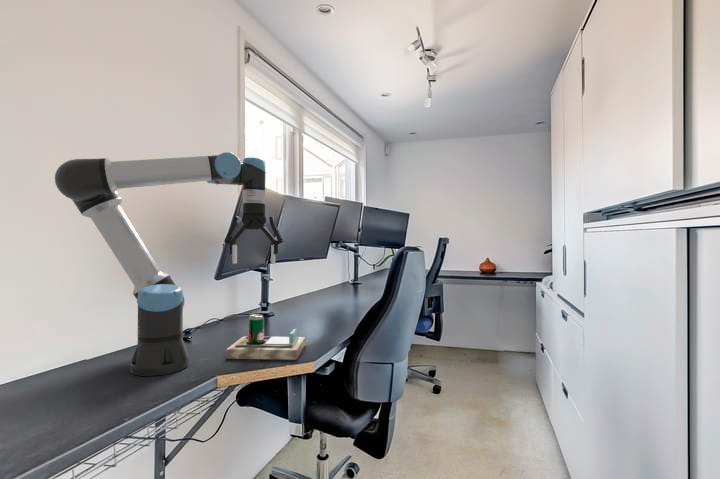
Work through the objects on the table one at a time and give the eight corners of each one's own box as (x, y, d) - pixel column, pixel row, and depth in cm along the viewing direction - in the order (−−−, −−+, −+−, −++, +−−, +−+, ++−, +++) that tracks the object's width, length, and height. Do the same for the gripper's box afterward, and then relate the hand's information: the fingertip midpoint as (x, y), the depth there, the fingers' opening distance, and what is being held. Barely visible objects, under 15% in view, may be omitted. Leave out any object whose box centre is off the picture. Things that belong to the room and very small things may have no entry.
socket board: (226, 358, 122) (226, 347, 122) (243, 344, 138) (243, 334, 138) (296, 359, 121) (296, 348, 121) (305, 345, 137) (305, 335, 137)
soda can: (259, 354, 127) (259, 317, 127) (245, 353, 128) (245, 316, 128) (266, 350, 132) (266, 314, 132) (252, 349, 133) (252, 313, 133)
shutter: (264, 346, 125) (264, 334, 125) (271, 338, 134) (271, 327, 134) (292, 346, 125) (292, 334, 125) (297, 339, 134) (297, 328, 134)
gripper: (214, 201, 133) (214, 264, 133) (287, 202, 133) (287, 264, 133) (223, 203, 141) (222, 262, 141) (291, 203, 140) (291, 263, 140)
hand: (254, 263), depth 137 cm, fingers open, 13 cm apart
